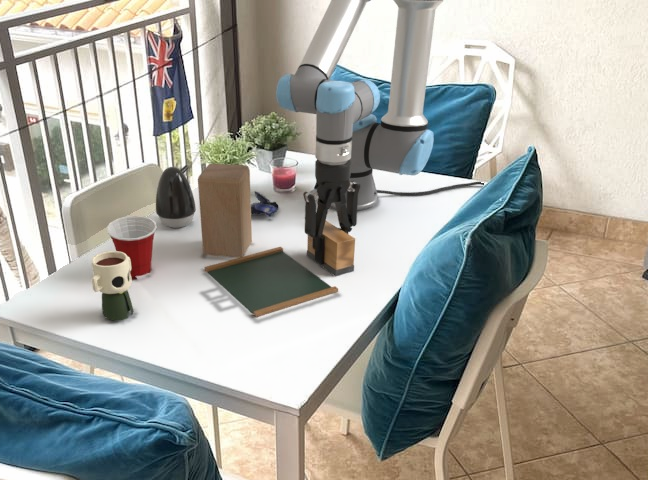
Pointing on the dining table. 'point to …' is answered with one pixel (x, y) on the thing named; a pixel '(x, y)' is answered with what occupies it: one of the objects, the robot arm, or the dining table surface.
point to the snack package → (263, 206)
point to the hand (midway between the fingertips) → (329, 258)
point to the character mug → (113, 283)
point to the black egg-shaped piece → (175, 198)
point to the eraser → (335, 250)
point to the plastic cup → (134, 241)
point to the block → (225, 209)
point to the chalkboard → (269, 281)
